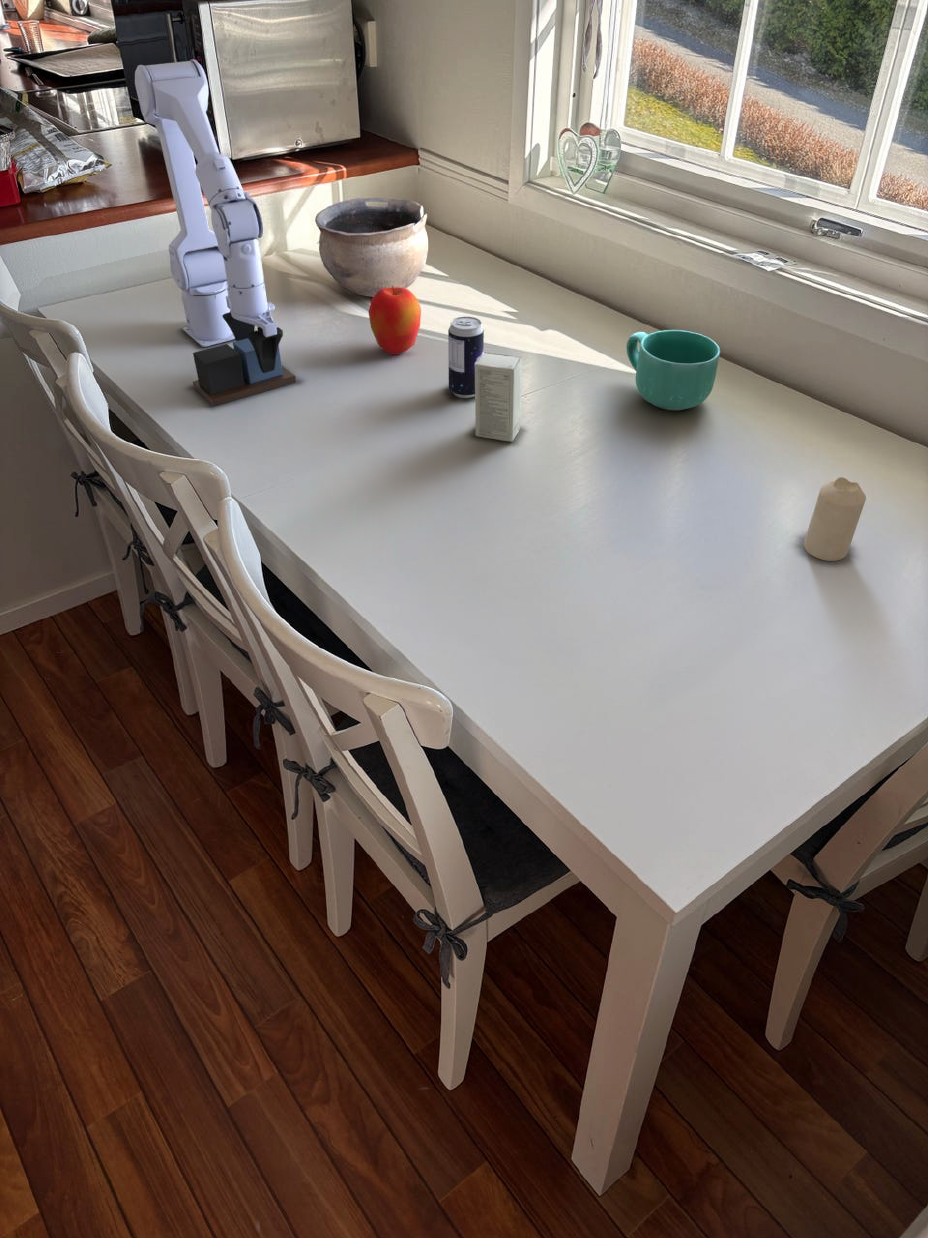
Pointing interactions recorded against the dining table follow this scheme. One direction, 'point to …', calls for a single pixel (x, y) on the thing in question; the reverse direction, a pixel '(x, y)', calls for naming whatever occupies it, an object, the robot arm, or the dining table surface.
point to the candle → (834, 519)
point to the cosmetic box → (497, 396)
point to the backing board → (246, 388)
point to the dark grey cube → (219, 369)
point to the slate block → (254, 362)
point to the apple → (395, 319)
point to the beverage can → (464, 354)
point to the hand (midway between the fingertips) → (258, 362)
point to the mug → (673, 367)
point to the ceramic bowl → (373, 243)
